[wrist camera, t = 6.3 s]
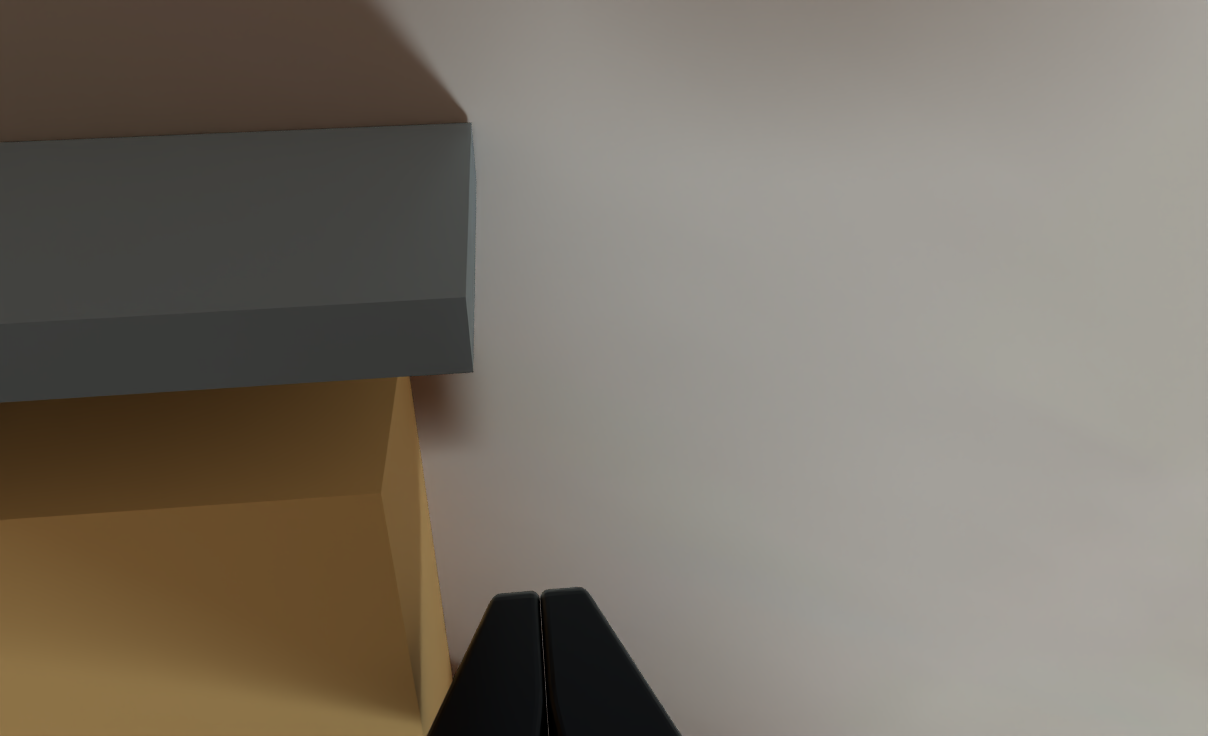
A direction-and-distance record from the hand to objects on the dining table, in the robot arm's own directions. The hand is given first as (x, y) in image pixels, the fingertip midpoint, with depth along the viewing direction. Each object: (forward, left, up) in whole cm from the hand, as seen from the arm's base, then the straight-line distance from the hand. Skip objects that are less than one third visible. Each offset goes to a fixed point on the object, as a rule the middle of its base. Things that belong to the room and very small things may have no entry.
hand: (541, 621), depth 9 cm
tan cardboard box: (0, +3, -2) cm, 4 cm away
